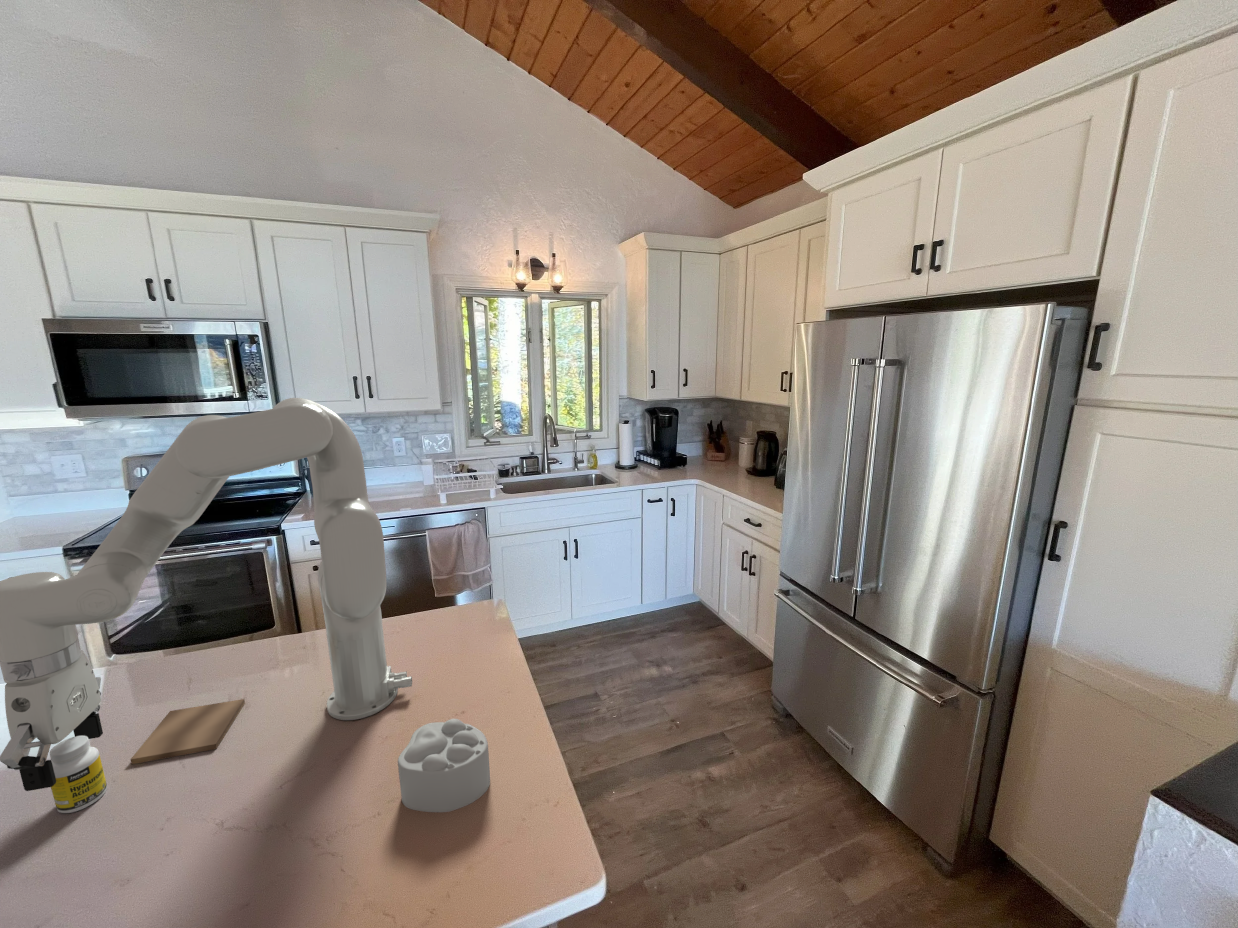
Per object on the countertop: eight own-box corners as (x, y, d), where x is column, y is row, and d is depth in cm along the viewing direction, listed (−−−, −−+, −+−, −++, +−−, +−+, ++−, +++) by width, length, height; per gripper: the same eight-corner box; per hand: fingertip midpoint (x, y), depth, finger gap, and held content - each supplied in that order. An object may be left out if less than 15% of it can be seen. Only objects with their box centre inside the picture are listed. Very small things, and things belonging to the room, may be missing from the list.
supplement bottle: (75, 817, 74) (59, 761, 72) (47, 811, 75) (30, 755, 73) (117, 787, 79) (103, 734, 77) (91, 781, 80) (76, 729, 78)
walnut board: (245, 703, 98) (244, 698, 98) (216, 748, 87) (215, 743, 87) (171, 715, 95) (170, 710, 95) (131, 764, 84) (130, 759, 83)
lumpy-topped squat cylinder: (424, 755, 86) (420, 712, 84) (498, 759, 85) (496, 715, 83) (394, 809, 76) (388, 761, 74) (478, 815, 75) (475, 766, 73)
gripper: (27, 692, 65) (54, 803, 68) (114, 625, 81) (133, 717, 84) (-51, 702, 63) (-19, 816, 66) (55, 631, 79) (77, 725, 82)
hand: (66, 760), depth 75 cm, fingers open, 9 cm apart
